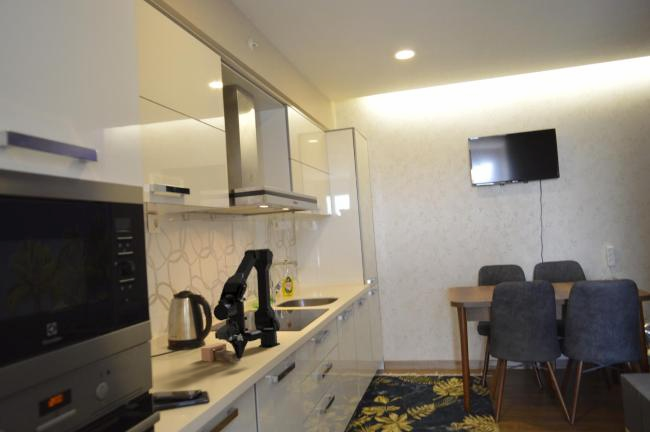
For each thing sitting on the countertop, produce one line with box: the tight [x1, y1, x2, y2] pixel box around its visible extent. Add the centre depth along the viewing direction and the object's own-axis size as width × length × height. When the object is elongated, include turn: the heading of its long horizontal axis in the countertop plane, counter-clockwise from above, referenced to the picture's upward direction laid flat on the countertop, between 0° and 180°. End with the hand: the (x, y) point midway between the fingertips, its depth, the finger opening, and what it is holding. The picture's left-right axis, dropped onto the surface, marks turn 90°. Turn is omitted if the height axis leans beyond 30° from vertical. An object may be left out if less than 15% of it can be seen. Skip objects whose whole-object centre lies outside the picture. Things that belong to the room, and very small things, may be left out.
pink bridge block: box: [200, 342, 227, 362], centre depth 179 cm, size 8×5×5 cm, turn 144°
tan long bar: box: [213, 349, 242, 364], centre depth 176 cm, size 15×3×3 cm, turn 53°
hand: (239, 358), depth 171 cm, fingers closed
